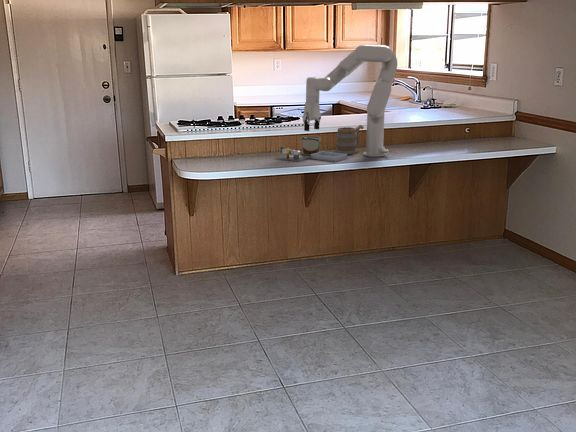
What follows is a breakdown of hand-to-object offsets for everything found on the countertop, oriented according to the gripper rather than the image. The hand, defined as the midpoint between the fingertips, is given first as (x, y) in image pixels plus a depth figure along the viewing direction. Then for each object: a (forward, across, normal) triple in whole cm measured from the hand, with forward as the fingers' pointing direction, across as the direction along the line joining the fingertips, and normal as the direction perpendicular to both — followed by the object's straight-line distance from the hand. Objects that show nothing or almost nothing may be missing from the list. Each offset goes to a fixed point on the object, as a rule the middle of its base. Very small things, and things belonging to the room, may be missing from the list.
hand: (311, 130), depth 346 cm
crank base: (+14, +18, +3) cm, 23 cm away
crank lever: (+13, +18, -2) cm, 22 cm away
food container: (+14, 0, +1) cm, 14 cm away
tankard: (+14, -20, +15) cm, 28 cm away
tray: (+14, +6, +17) cm, 23 cm away
